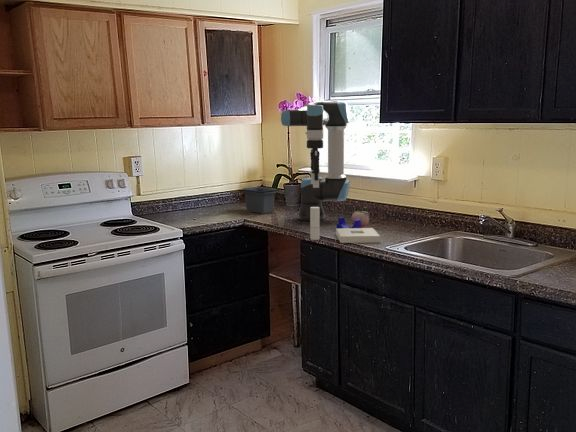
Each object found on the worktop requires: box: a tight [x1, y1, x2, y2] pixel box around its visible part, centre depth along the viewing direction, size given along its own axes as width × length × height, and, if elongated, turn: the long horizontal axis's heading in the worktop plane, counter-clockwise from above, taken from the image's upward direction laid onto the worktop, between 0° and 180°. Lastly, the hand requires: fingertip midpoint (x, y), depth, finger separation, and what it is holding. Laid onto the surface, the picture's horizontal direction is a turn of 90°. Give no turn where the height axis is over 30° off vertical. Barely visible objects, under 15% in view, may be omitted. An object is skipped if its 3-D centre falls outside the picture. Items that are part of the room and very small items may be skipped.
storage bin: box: [242, 186, 277, 215], centre depth 335 cm, size 21×16×14 cm
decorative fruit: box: [350, 209, 370, 228], centre depth 283 cm, size 9×8×10 cm
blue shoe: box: [335, 216, 361, 228], centre depth 279 cm, size 12×4×6 cm, turn 45°
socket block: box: [335, 227, 381, 244], centre depth 261 cm, size 18×18×3 cm
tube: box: [309, 207, 320, 241], centre depth 259 cm, size 4×4×15 cm
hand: (314, 185), depth 256 cm, fingers open, 13 cm apart
